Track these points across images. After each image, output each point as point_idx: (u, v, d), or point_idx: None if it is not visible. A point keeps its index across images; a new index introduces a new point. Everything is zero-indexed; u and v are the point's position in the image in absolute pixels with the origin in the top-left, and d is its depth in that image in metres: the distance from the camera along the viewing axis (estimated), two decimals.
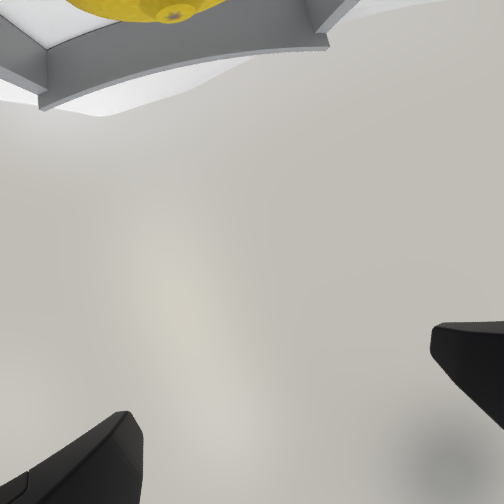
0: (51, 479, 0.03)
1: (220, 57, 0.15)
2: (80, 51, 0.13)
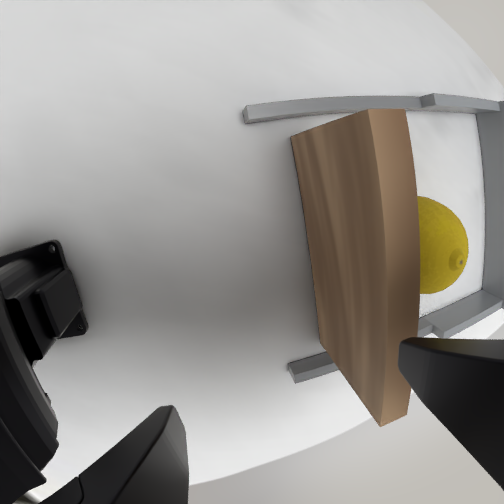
0: (110, 483, 0.03)
1: None
2: (492, 270, 0.22)
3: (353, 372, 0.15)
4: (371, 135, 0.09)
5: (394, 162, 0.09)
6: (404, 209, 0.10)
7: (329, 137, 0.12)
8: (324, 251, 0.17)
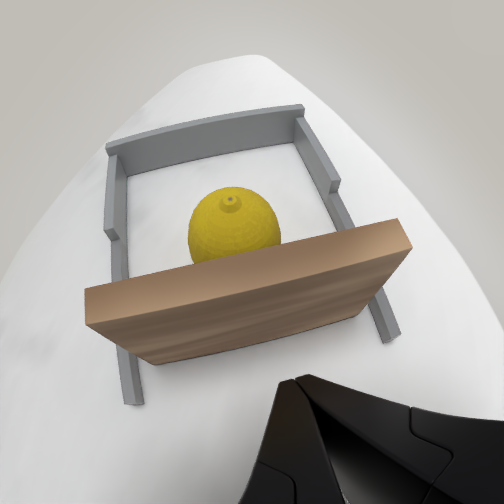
0: (309, 454, 0.04)
1: (178, 125, 0.25)
2: (270, 136, 0.28)
3: (365, 286, 0.15)
4: (104, 321, 0.11)
5: (124, 299, 0.11)
6: (163, 286, 0.12)
7: (130, 344, 0.14)
8: (248, 334, 0.17)
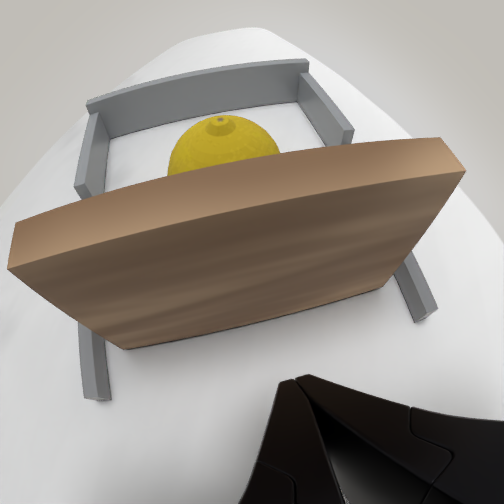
0: (309, 453, 0.04)
1: (167, 78, 0.20)
2: (271, 93, 0.23)
3: (402, 234, 0.11)
4: (29, 263, 0.07)
5: (59, 230, 0.07)
6: (113, 208, 0.07)
7: (80, 311, 0.10)
8: (244, 305, 0.13)
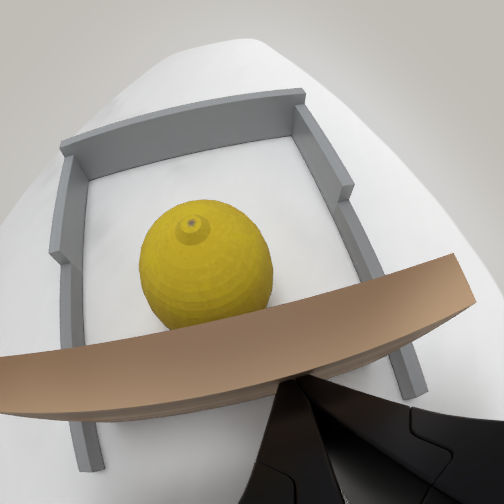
0: (309, 454, 0.04)
1: (146, 116, 0.19)
2: (262, 128, 0.22)
3: (394, 348, 0.10)
4: (7, 412, 0.05)
5: (27, 385, 0.06)
6: (74, 373, 0.06)
7: (64, 419, 0.08)
8: (225, 403, 0.11)
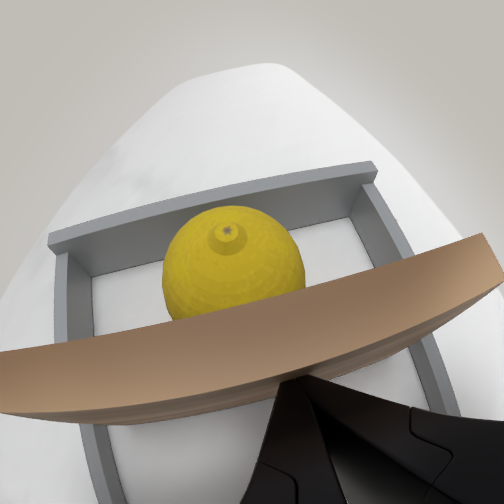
0: (311, 453, 0.04)
1: (165, 204, 0.15)
2: (318, 212, 0.18)
3: (424, 332, 0.09)
4: (18, 412, 0.05)
5: (42, 381, 0.05)
6: (100, 365, 0.06)
7: (79, 421, 0.08)
8: (250, 399, 0.11)
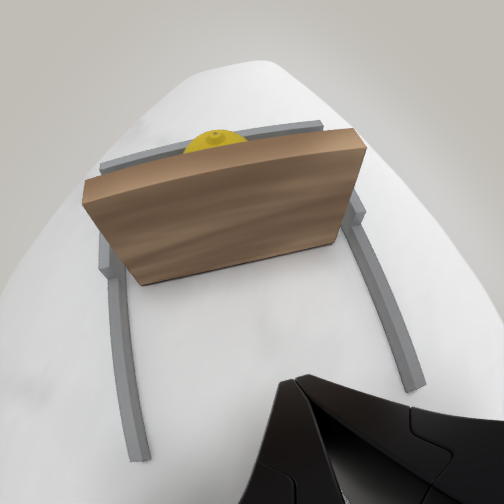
0: (309, 454, 0.04)
1: (181, 144, 0.22)
2: None
3: (332, 194, 0.17)
4: (98, 199, 0.13)
5: (117, 182, 0.13)
6: (151, 170, 0.14)
7: (119, 241, 0.16)
8: (227, 244, 0.19)
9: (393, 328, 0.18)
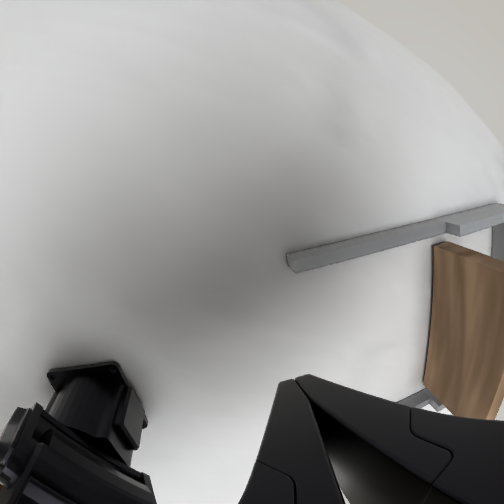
0: (309, 453, 0.04)
1: None
2: None
3: (459, 407, 0.19)
4: None
5: None
6: None
7: (483, 274, 0.16)
8: (451, 332, 0.20)
9: None
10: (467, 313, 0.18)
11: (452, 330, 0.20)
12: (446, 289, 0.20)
